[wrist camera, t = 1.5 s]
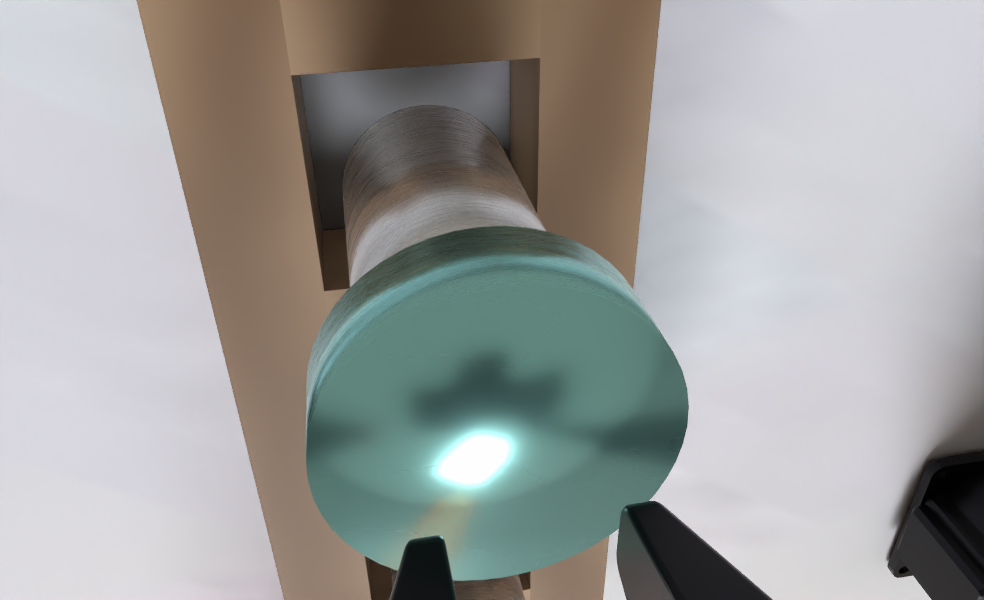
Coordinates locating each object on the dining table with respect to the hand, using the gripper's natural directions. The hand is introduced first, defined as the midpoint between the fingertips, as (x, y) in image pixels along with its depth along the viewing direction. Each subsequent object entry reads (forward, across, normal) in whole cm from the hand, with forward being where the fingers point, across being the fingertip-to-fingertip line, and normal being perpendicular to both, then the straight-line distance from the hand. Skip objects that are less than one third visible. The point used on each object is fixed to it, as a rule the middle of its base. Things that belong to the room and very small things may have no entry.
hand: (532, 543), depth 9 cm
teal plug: (+10, 0, 0) cm, 10 cm away
